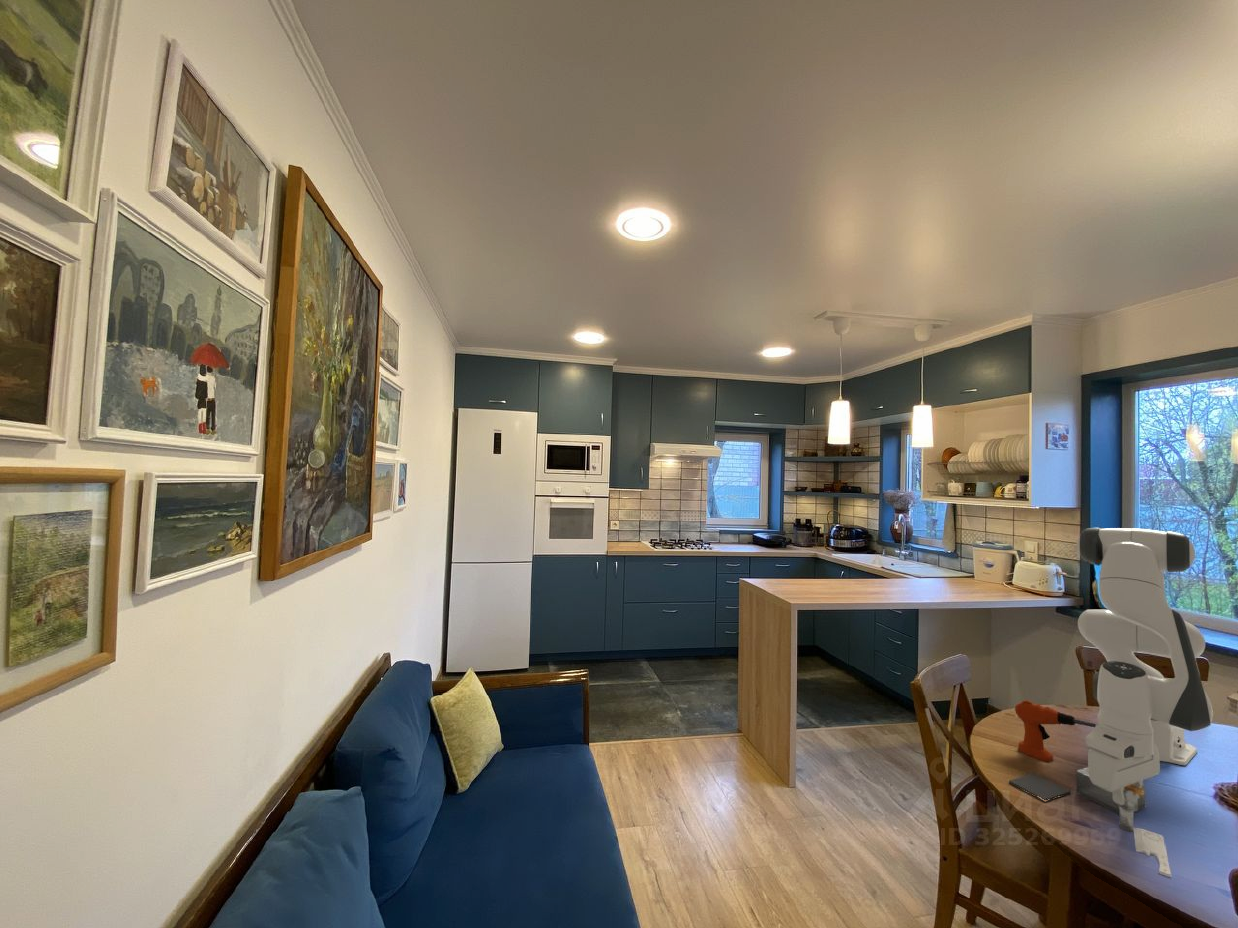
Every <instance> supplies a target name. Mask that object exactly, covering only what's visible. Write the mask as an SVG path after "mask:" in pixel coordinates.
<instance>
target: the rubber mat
mask: <svg viewBox="0 0 1238 928" xmlns="http://www.w3.org/2000/svg"><path fill="white" fill-rule="evenodd" d="M1008 784H1010V785H1012V786H1014V787H1016V786H1017V787H1016V788H1018V787H1019V788H1021V789H1023V790H1025V791H1027V792H1029V793H1031V794H1033V795H1035V796H1039V797H1041V798H1042V799H1044V800H1048V799H1053V798H1055V797H1058V796H1061V797H1063V796H1066V795H1069V794H1070V795H1071V790H1069V788H1068V789H1067V788H1066V787H1063V786H1062V785H1059V784H1057V783H1056V782H1053V781H1052V780H1049V779H1047V778H1045V777H1043V776H1041V775H1038V774H1037V773H1034V772H1032V773H1029V774H1026V775H1022V776H1020V777H1017V778H1014V779H1009V780H1008ZM1019 788H1018V789H1019ZM1021 789H1020V790H1021ZM1023 790H1022V791H1023ZM1025 791H1024V792H1025ZM1027 792H1026V793H1027ZM1029 793H1028V794H1029ZM1031 794H1030V795H1031ZM1033 795H1032V796H1033ZM1053 800H1054V799H1053Z"/></svg>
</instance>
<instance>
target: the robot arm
mask: <svg viewBox="0 0 1238 928" xmlns="http://www.w3.org/2000/svg"><path fill="white" fill-rule="evenodd" d="M1076 551H1077V552H1078V554H1079V556H1080V559H1082V560H1083V561H1084V562H1086V563H1088V564H1091V565H1094V566H1098V567H1099V566H1100V570H1099V580H1098V581H1099V582H1098V583H1099V584H1098V590H1099V597H1100V601H1101V603H1102V605H1104V607H1105V608H1106V609H1104V608H1103V609H1095V608H1094V609H1086V610H1084V611H1083V612H1082V613H1081V614H1080V615H1079V617H1078V619H1077V627H1078V630H1079V633H1080V634H1081V635H1082V637H1083V638H1084V639H1085V640H1086V641H1087V642H1089V643H1091V644H1092V645H1093V646H1094V647H1095V648H1097V649H1098V650H1099V652H1100V653H1101V654H1102V655H1103V656H1104V658H1105V660H1106V661H1105V662H1103V663H1102V664H1101V665H1100V668H1099V671H1097V672H1095V673H1094V674H1093V676H1092V690H1093V691H1092V697H1093V698H1094V699H1095V701H1096V702H1098V705H1099V712H1098V714H1097V723H1096V724H1097V725H1096V726H1095V727H1093V730H1092V731H1091V732H1090V733H1088V735H1086V737H1085V744H1086V746H1088V747H1090V748H1089V749H1088V752H1087V767H1088V770H1089V778H1090V780H1091V782H1092V783H1093V784H1094V785H1096V786H1098V787H1100V788H1102V789H1105V790H1107V791H1109V792H1112V793H1113V801H1114V802H1116V803H1118V804H1120V805H1124V804H1126V803H1127V801H1126V800H1127V796H1124V793H1123V790H1124V787H1126V786H1129V785H1131V784H1132V785H1134V786H1136V787H1139V788H1141V787H1142V784H1144V782H1143V781H1144V780H1147V779H1151V778H1153V777H1156V776H1158V775H1159V773H1160V770H1161V764H1160V763H1161V762H1165V763H1171V764H1176V765H1180V766H1186V765H1188V764H1189V762H1190V761H1191V760H1192V759H1193V757H1194V756H1195V755H1196V754H1197V752H1198V749H1197V747H1195V746H1194V745H1191V744H1190V743H1187V742H1186V741H1185V740H1186V739H1185V730H1186V731H1189V732H1195V731H1200V730H1203V729H1205V728H1208V727H1210V726H1211V723H1212V721H1213V718H1214V711H1213V706H1212V703H1211V700H1210V698H1209V696H1208V694H1207V691H1206V690H1205V688H1204V686H1203V682H1202V680H1201V674H1200V670H1199V667H1198V663H1197V658H1198V657H1200V656H1201V655H1202V654H1203V653H1204V651H1205V649H1206V640H1205V637H1204V634H1202V632H1201V631H1200V630H1199V628H1198V627H1196V626H1195V625H1194V624H1193V623H1190V622H1188V621H1186V620H1185V619H1183V617H1182V615H1181V614H1180V612H1179V611H1176V610H1174V609H1172V607H1170V605H1169V603H1168V601H1167V597H1166V592H1165V576H1164V574H1165V573H1164V572H1166V571H1167V573H1180V572H1185V571H1187V570H1188V569H1190V566H1191V565H1192V564H1193V563H1194V561H1195V558H1196V550H1195V547H1194V545H1193V543H1192V542H1191V540H1190V538H1189V537H1187V536H1186V535H1185V534H1183V533H1180V532H1175V531H1169V530H1167V531H1161V530H1155V529H1147V528H1146V529H1145V528H1137V527H1136V528H1135V527H1132V528H1126V527H1125V528H1122V527H1121V528H1120V527H1117V528H1116V527H1114V528H1113V527H1110V528H1108V527H1107V528H1104V527H1103V528H1100V527H1088V528H1085V529H1083V530H1082V531H1081V532H1080V534H1079V536H1078V537H1077V540H1076ZM1135 653H1141V654H1145V655H1146V654H1147V655H1152V656H1159V657H1163V658H1168V659H1170V661H1171V664H1172V670H1173V672H1174V678H1171V679H1170V678H1165V676H1164V675H1163V674H1162V673H1161V672H1160V671H1159V670H1158V669H1155V668H1154V667H1152V666H1151V665H1148V664H1146V663H1145V662H1143V661H1142V660H1140V659H1139V658H1137V657H1136V654H1135ZM1138 799H1139V794H1138Z"/></svg>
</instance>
